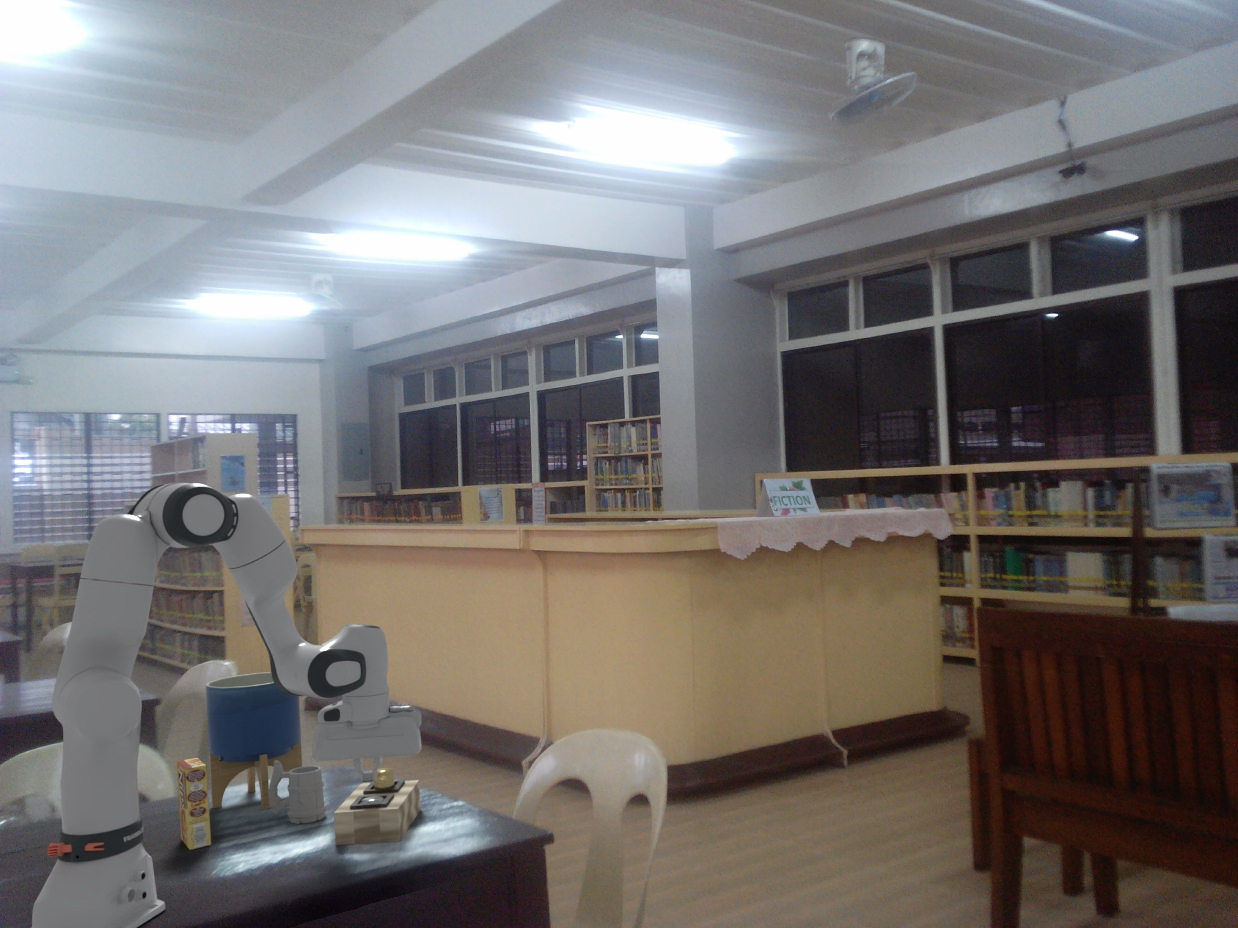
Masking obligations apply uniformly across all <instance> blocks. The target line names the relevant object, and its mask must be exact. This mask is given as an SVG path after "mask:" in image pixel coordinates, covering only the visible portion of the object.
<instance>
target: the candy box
mask: <svg viewBox="0 0 1238 928" xmlns="http://www.w3.org/2000/svg"><path fill="white" fill-rule="evenodd" d="M176 777H177V790H178V791H177V792H178V807H179V808H178V810H179V819H180V822H179V823H180V838H181V840H182V842H183V843H184V845H186V847H187V848H188V850H190V851H191V850H195V849H201V848H204V847H208V846H209V847H210V846H211V845H212V833H211V819H210V804H209V802H210V801H209V785H208V770H207V765H206V763H205V762H203V761H201V759H200V758H198V757H195V758H189V759H183V760H177V761H176Z"/></svg>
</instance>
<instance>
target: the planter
mask: <svg viewBox="0 0 1238 928" xmlns="http://www.w3.org/2000/svg"><path fill="white" fill-rule="evenodd" d="M205 694H206V695H205V696H206V714H207V716H206V717H207V736H208V753H209V754H208V756H209V758H208V759H209V777H210V780H209V781H210V798H211V799H210V800H211V808H212V809H218V808H222V807H223V797H224V795H225V792H226V789H227V787H228V786H229V785H230V783H231V782H232V780H233V779H234V778H236V777H237V776H238V775H239V774H241V773H242V772H244V771H246V779H247V791H248V793H252V792H253V793H255V792H256V777H257V780H258V786H259V790H260V791H259V792H260V802H261V803H260V804H261V809H262V810H263V811H264V810H269V809H271V807H270V804H269V795H268V790H269V785H270V782H269V769H268V768H269V767H273V768H274V761H275V760H278V761H280V763H281V764H282V766H283V771H284V772H289V771H290V770H292V769H295V768H298V767H303V755H302V730H301V729H302V728H301V713H300V712H301V710H300V696H290V695H287V694H285V693H283V692H282V691H280V690H279V689H278V688H277V686H276V685H275V683H274V681H273V678H272V674H271V671H269V672H267V671H266V672H254V673H247V674H240V675H233V676H228V677H227V676H226V677H223V678H218V679H214V680H212V681H209V682H207V683H206V684H205Z"/></svg>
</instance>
